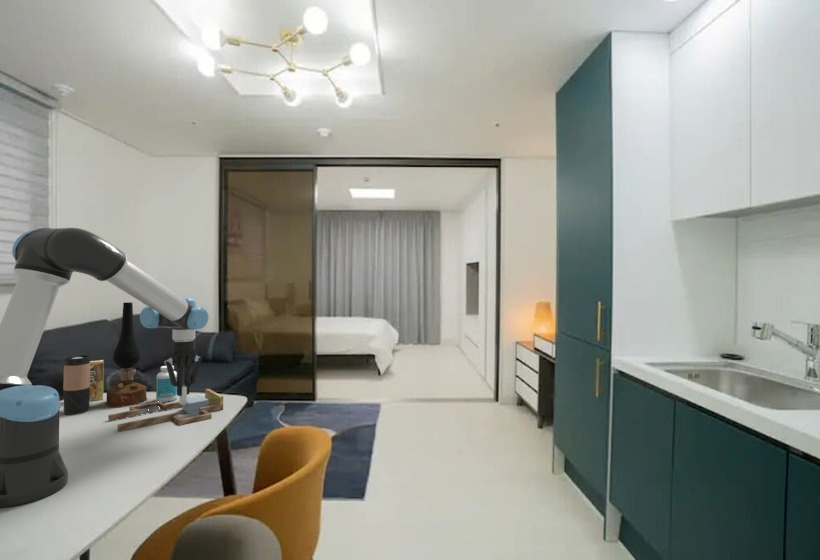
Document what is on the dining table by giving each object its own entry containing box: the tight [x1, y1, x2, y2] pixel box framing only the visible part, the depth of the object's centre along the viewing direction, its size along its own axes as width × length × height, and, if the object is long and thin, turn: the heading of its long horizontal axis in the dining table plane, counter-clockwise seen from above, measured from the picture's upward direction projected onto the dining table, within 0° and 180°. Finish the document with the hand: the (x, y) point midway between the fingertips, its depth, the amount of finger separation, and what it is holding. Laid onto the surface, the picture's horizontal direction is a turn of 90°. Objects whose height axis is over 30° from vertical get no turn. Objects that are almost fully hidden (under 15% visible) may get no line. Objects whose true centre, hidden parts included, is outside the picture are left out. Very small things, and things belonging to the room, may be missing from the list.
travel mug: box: [62, 354, 91, 416], centre depth 154 cm, size 8×8×20 cm
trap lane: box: [107, 388, 224, 432], centre depth 152 cm, size 33×28×5 cm
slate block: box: [181, 395, 210, 414], centre depth 159 cm, size 7×7×4 cm
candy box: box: [89, 359, 105, 402], centre depth 168 cm, size 9×4×15 cm, turn 127°
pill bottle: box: [155, 365, 179, 403], centre depth 170 cm, size 8×7×14 cm
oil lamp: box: [105, 302, 148, 408], centre depth 168 cm, size 14×15×40 cm
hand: (183, 403), depth 156 cm, fingers closed
